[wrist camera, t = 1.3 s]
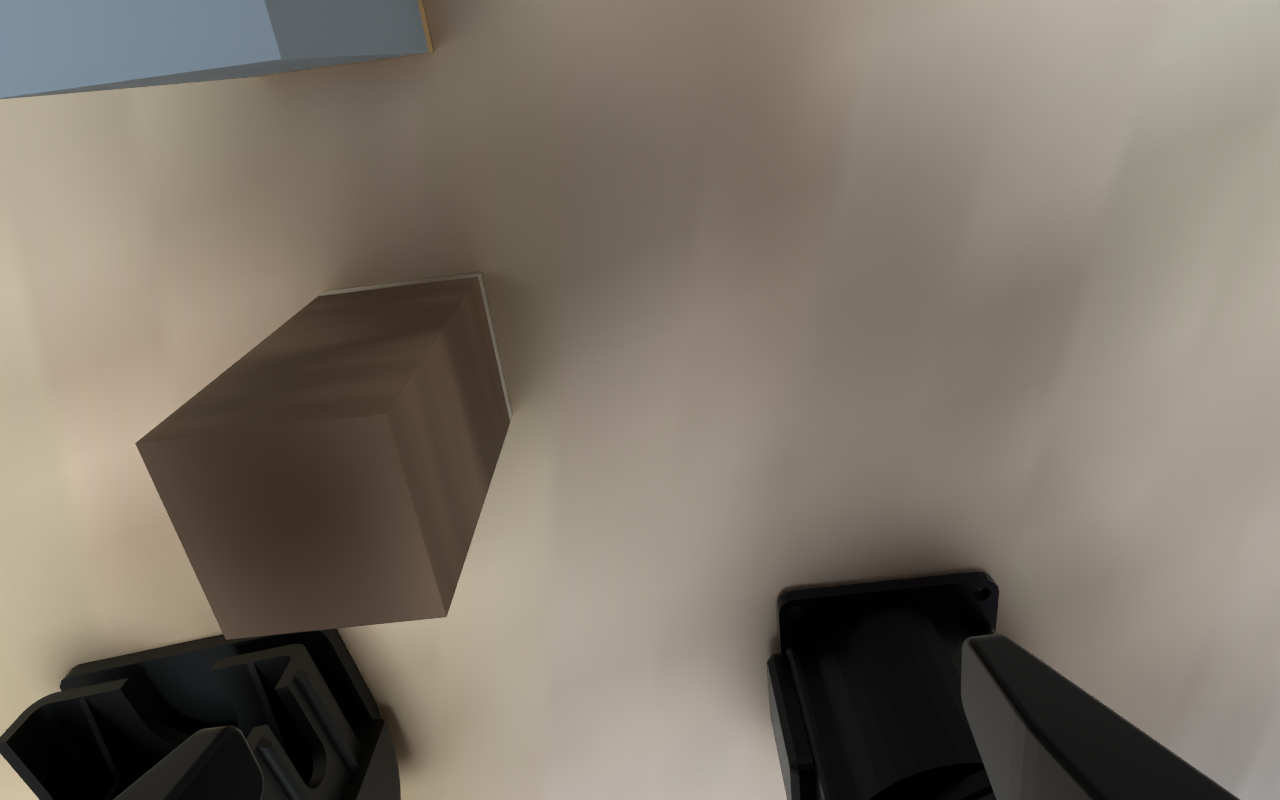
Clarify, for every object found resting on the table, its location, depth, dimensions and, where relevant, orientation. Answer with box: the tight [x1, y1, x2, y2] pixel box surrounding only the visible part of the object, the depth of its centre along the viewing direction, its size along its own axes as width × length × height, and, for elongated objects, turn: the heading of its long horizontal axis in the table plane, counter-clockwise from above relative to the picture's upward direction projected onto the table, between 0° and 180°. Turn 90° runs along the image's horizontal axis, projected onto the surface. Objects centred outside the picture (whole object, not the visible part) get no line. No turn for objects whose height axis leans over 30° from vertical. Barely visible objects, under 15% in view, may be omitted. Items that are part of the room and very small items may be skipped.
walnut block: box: [136, 272, 512, 640], centre depth 16 cm, size 4×4×8 cm
